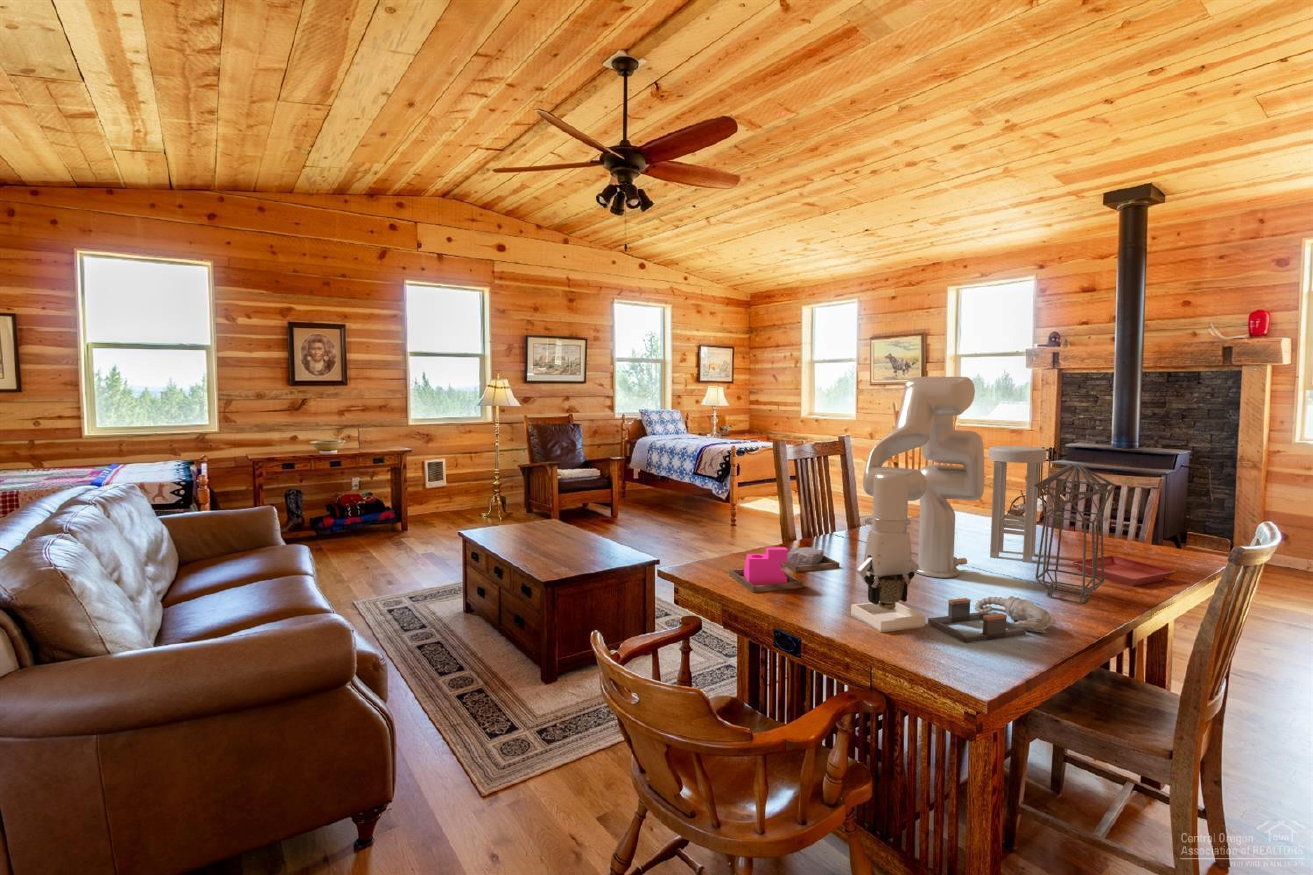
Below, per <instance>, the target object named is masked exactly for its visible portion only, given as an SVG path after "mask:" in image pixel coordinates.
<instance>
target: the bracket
mask: <svg viewBox="0 0 1313 875" xmlns="http://www.w3.org/2000/svg"><path fill="white" fill-rule="evenodd" d="M765 550H766V551H765V553H747V554H746V558H745V564H744V566H743V567H744V568H743V569H744V574H743V576H744V579H746V580H747V581H749V582H750V583H751V584H753V585H754V586H758V585H768V584H779V583H788V580H787V577H786V575H785V574H784V572H785V571H784V570H783V569H782V564H781V562H787V556H788V551H789V550H788V548H787V547H783V546H779V547H778V546H777V547H776V546H775V547H774V546H773V547H768V546H767V547H766V549H765ZM783 571H784V572H783Z"/></svg>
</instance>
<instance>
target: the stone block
mask: <svg viewBox="0 0 1313 875" xmlns="http://www.w3.org/2000/svg"><path fill="white" fill-rule="evenodd" d="M823 556H825V555H824V549H818V548H814V547H808V546H805V547H797V548H794V549H791V550H790V552H789V553H788V556H787V561H789V562H791V563H792V564H794V565H796V566H801V565H813V564H820V562H823V561H822V560H823Z"/></svg>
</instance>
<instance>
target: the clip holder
mask: <svg viewBox="0 0 1313 875" xmlns="http://www.w3.org/2000/svg"><path fill="white" fill-rule="evenodd" d="M947 603H948V606H947V608H948V609H947V616H946V615H945V616H937V617H928V618H927V624H928V625H930V626H932V627H934V628H936V629H938V630H940V631H942V632H944V633H945V634H948V635H950V636H951V637H953V638H955V639H957V640H959V641H961V642H963V643H965V644H968V643H977V642H984V641H992V640H997V639H1006V638H1013V637H1020V636H1022V637H1023V636H1026V635H1027V631H1026V629H1024V628H1021V627H1019V626H1017V625H1015V624H1012V622H1010V621H1008V620H1007V618H1008V614H1005V613H1002V612H1000V613H989V612H988V613H987V612H978V611H977V612H971V599H969V598H967V597H963V598H953V599H948V600H947ZM978 620H979V621H980V620H982V632H978V633H970V634H964V633H962V632H960V631H958V630H957V629H955V628H953V627H951V626H949V625H947V624H952V623H961V622H969V621H978Z"/></svg>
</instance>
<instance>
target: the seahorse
mask: <svg viewBox="0 0 1313 875" xmlns="http://www.w3.org/2000/svg"><path fill="white" fill-rule="evenodd" d="M991 605H994V606H1000V607H1004V610H1005V613H1006V615H1007V617H1010V619H1011V620H1012V621H1015V622H1011V623H1012V624H1015V625H1017V626H1019V627H1021V628H1024V629H1026V632H1035V633H1041V634H1048V632H1047V631H1046V629H1048V628H1050V627H1051V626H1052V625H1053V624H1054V623H1055V622H1056V619H1055V617H1054V615H1052V614H1051V613H1050V612H1048V611H1047V610H1046V609H1045V608H1043V607H1040V606H1038V605H1035V604H1034V601H1032V600H1030V599H1026V598H1025V599H1023V598H1020V597H1014V596H1012V595H1011V596H1009V597H1008V598H1003V597H1002V596H999V597H997V596H988V597H986V598H985V597H983V598H982V599H981V600H978V601H977V603H975V605H974V610H975V611H976V612H977V613H978V612H987V613H989V612H992V611H993V607H992V606H991ZM982 608H983V609H982Z"/></svg>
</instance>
